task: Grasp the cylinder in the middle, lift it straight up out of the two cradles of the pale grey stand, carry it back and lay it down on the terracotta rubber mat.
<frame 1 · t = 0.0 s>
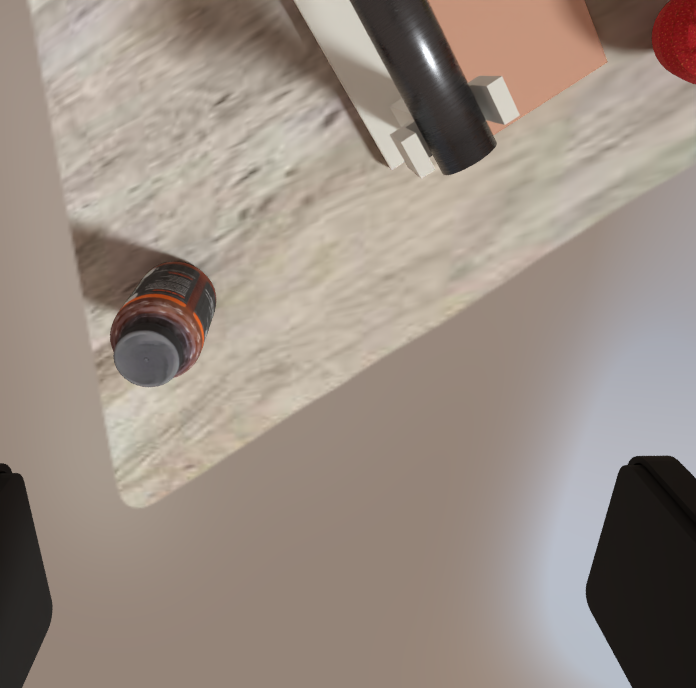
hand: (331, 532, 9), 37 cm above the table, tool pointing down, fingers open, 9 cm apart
strawberry: (665, 38, 41), on the table
stand: (360, 26, 39), on the table
cylinder: (390, 4, 27), point 14 cm above the table, touching stand
supplement bottle: (179, 294, 46), on the table
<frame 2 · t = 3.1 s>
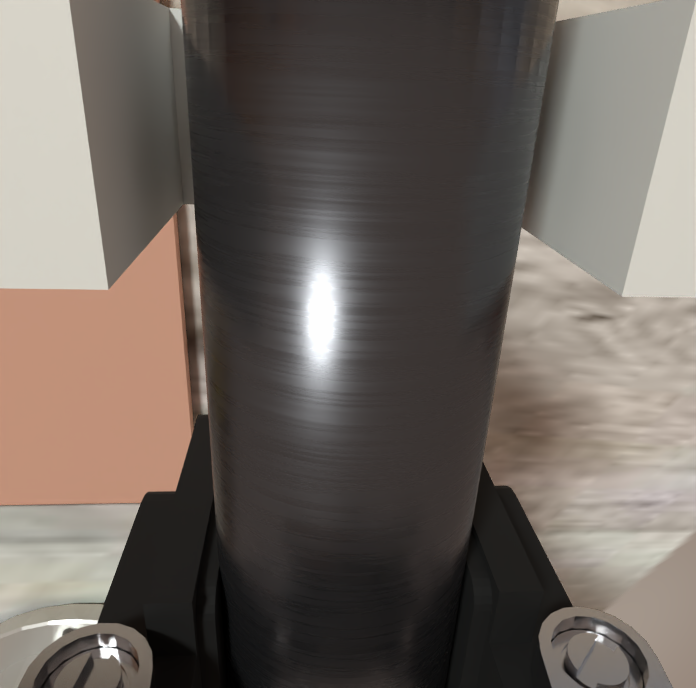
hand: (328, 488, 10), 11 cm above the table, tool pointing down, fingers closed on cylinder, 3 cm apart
mat: (40, 250, 19), on the table
stand: (313, 282, 21), on the table
cylinder: (338, 622, 8), point 14 cm above the table, touching gripper, stand
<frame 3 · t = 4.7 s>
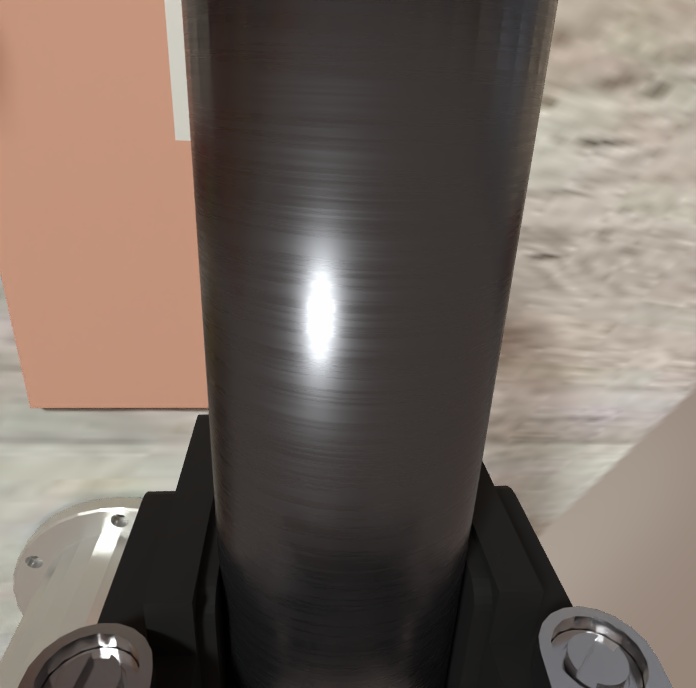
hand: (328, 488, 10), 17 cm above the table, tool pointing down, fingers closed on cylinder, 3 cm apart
mat: (102, 196, 25), on the table
stand: (317, 225, 26), on the table
cylinder: (338, 621, 8), point 20 cm above the table, touching gripper
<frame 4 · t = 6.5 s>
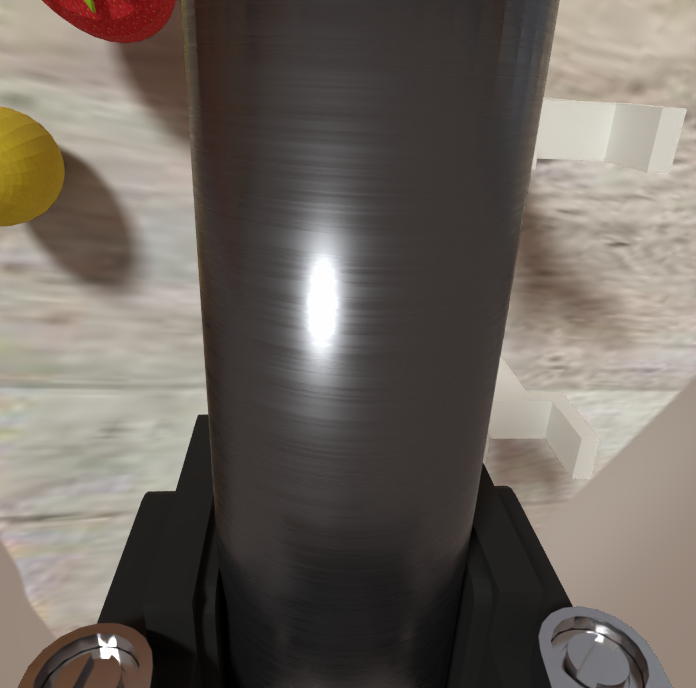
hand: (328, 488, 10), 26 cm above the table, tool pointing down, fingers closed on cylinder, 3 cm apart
stand: (456, 221, 35), on the table
cylinder: (338, 620, 8), point 29 cm above the table, touching gripper
lemon: (33, 155, 32), on the table
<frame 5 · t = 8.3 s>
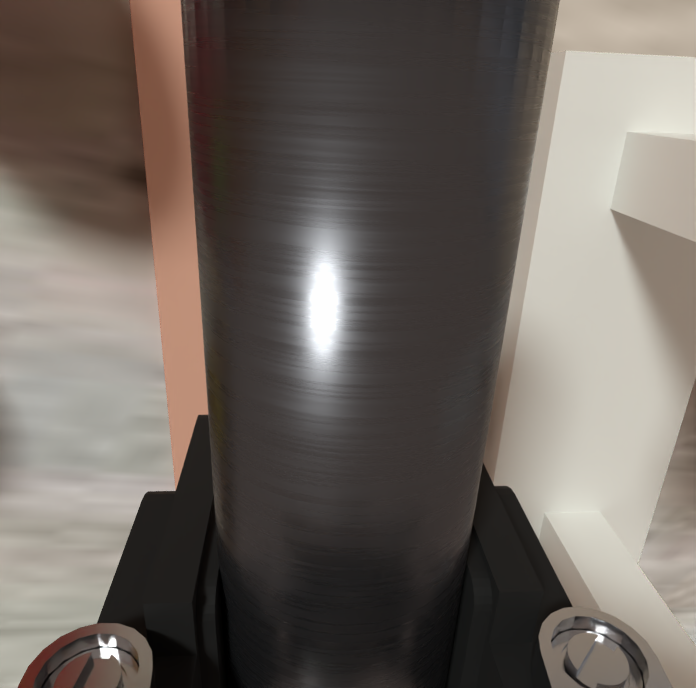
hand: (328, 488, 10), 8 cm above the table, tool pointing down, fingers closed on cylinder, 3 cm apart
mat: (314, 331, 18), on the table
stand: (587, 361, 19), on the table
cylinder: (338, 619, 8), point 11 cm above the table, touching gripper
when the fingers open (2 cm above the table, at t = 9.9 s): cylinder drops 2 cm, resting on mat.
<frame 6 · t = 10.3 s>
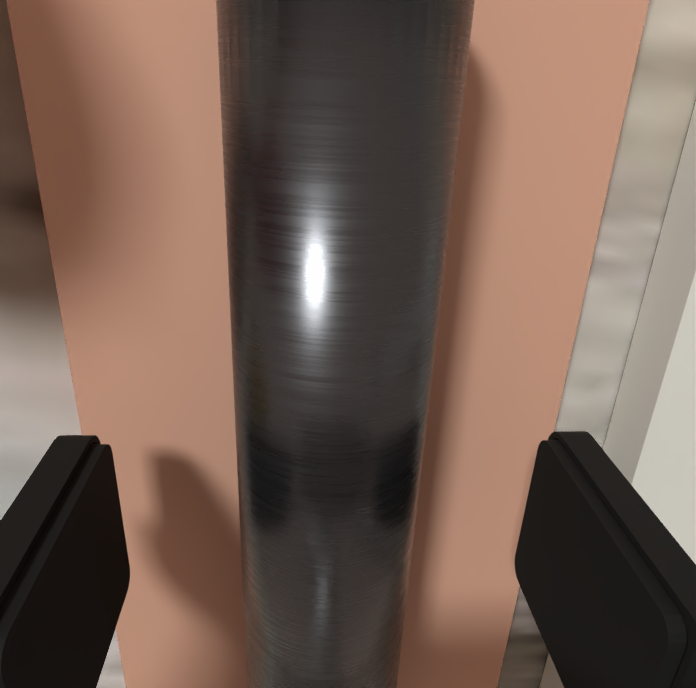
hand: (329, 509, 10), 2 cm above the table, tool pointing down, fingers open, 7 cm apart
mat: (324, 434, 12), on the table
cylinder: (328, 503, 10), point 2 cm above the table, touching mat
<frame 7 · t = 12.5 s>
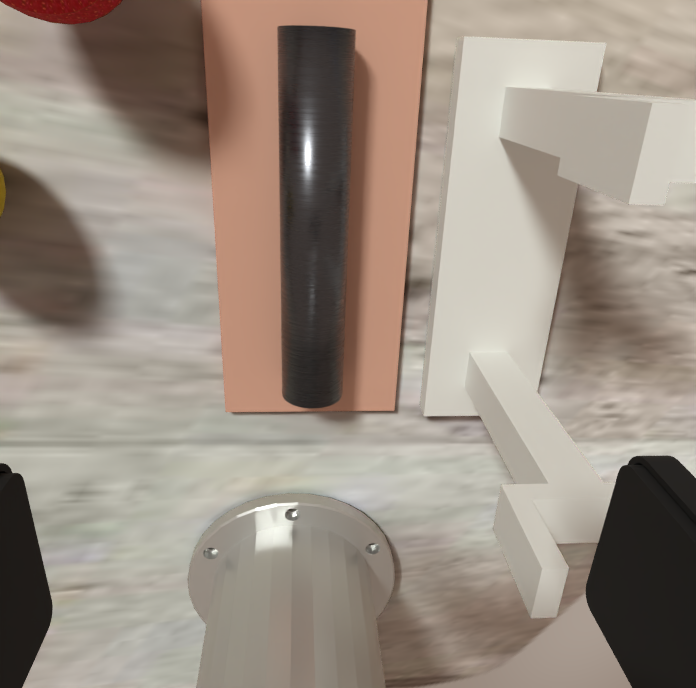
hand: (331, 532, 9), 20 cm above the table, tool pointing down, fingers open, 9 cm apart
mat: (312, 222, 28), on the table
stand: (495, 246, 29), on the table
cylinder: (314, 234, 26), point 2 cm above the table, touching mat
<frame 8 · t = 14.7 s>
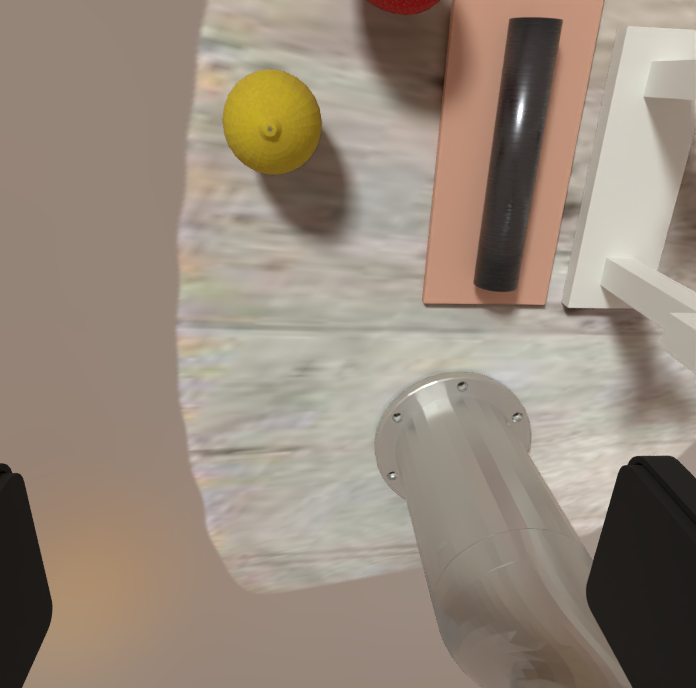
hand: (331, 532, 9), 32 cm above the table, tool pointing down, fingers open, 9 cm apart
mat: (503, 159, 39), on the table
stand: (629, 179, 40), on the table
cylinder: (513, 164, 37), point 2 cm above the table, touching mat
lemon: (275, 118, 37), on the table
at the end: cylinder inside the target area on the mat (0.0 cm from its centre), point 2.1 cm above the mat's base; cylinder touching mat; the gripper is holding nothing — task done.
